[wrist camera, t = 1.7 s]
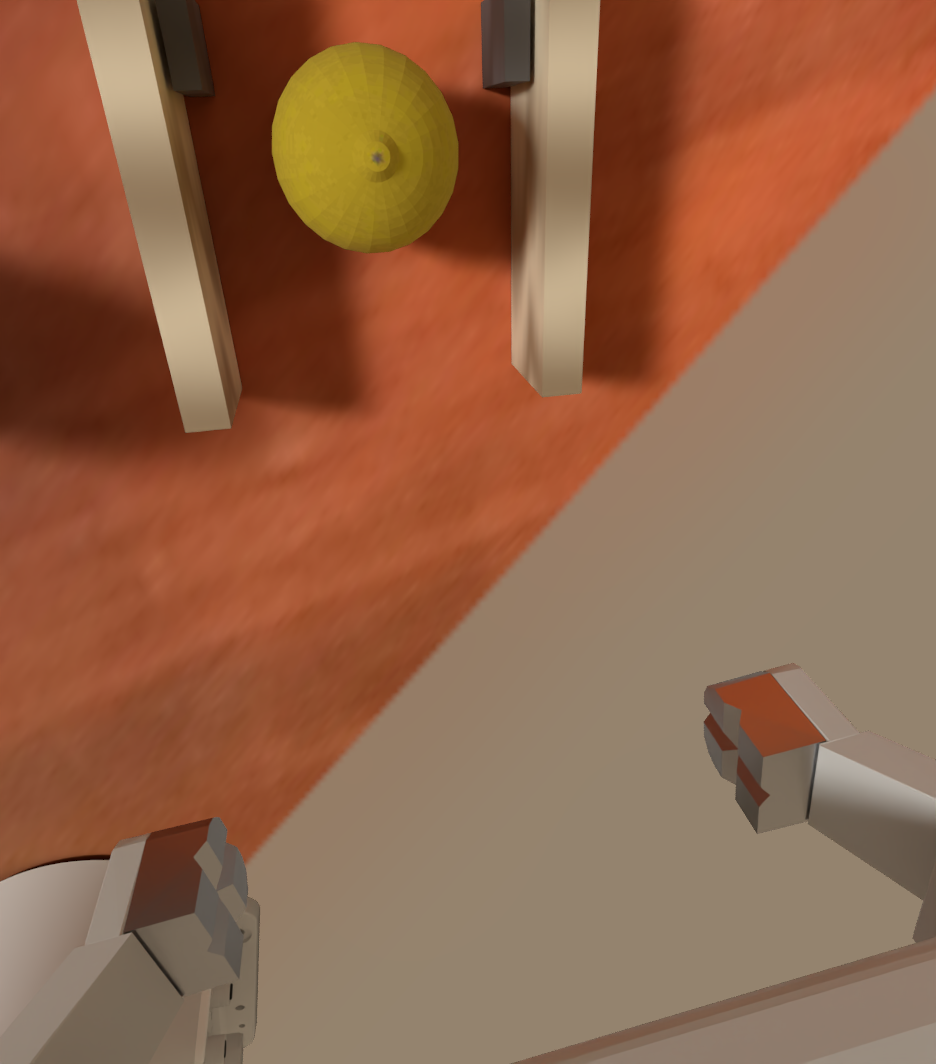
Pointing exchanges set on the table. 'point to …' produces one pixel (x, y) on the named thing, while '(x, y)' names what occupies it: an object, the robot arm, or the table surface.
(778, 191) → the table surface
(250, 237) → the table surface
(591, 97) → the chute
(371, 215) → the lemon
